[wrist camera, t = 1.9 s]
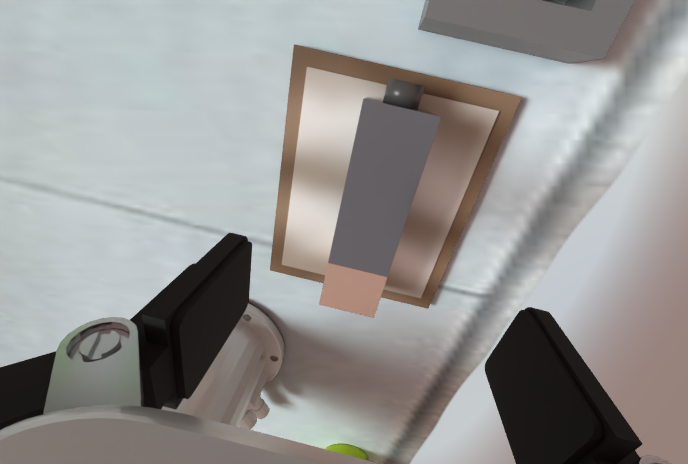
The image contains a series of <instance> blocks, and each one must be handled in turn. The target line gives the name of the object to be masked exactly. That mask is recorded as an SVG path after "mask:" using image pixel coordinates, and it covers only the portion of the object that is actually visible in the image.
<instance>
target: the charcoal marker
mask: <svg viewBox="0 0 688 464" xmlns="http://www.w3.org/2000/svg"><path fill="white" fill-rule="evenodd" d="M424 87H425V86H422V85H418V84H415V83H411V82H406V81H402V80H397V79H391V78H388V82H387V86H386V91H385V95H384V99H383V101H381V100H377V99H372V98H368V97H367V98H364V99H363V102H362V107H361V112H360V116H359V121H358V126H357V130H356V135H355V140H354V144H353V149H352V154H351V158H350V163H349V167H348V172H347V177H346V181H345V186H344V191H343V195H342V200H341V205H340V209H339V214H338V219H337V223H336V228H335V233H334V237H333V242H332V247H331V251H330V256H329V261H328V265H327V270H326V274H325V279H324V284H323V288H322V293H321V298H320V302H319V305H323V306H327V307H332V308H336V309H340V310H344V311H348V312H352V313H356V314H360V315H364V316H368V317H372V318H374V316H375V313H376V310H377V307H378V304H379V301H380V298H381V295H382V292H383V289H384V286H385V283H386V280H387V277H388V274H389V271H390V268H391V265H392V262H393V259H394V256H395V253H396V250H397V247H398V244H399V241H400V238H401V235H402V232H403V229H404V226H405V223H406V221H407V218H408V215H409V212H410V209H411V206H412V203H413V200H414V197H415V194H416V191H417V188H418V185H419V182H420V179H421V176H422V173H423V170H424V167H425V164H426V161H427V158H428V155H429V152H430V149H431V146H432V143H433V140H434V137H435V134H436V131H437V128H438V125H439V122H440V119H441V117H440V116H438V115H436V114H434V113H431V112H428V111H424V110H420V109H418V107H419V104H420V100H421V97H422V94H423V90H424Z"/></svg>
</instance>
